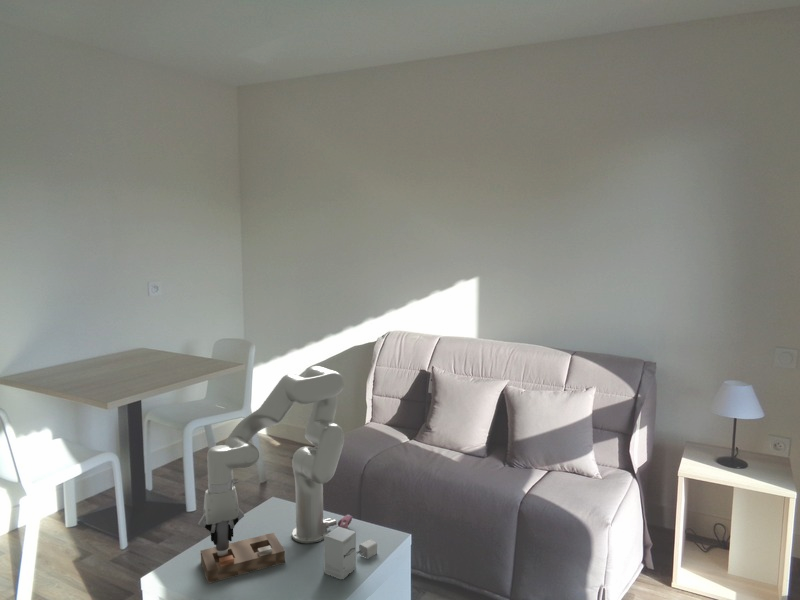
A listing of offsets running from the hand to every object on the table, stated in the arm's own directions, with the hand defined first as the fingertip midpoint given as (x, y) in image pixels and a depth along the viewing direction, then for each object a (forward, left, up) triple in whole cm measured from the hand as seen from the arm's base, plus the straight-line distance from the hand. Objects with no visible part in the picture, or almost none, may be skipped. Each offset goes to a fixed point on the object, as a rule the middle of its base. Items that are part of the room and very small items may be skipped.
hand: (222, 540), depth 185 cm
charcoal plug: (0, 0, -4) cm, 4 cm away
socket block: (-6, 0, -9) cm, 11 cm away
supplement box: (-32, +19, -9) cm, 39 cm away
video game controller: (-42, -3, -9) cm, 43 cm away
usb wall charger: (-43, +15, -9) cm, 46 cm away
